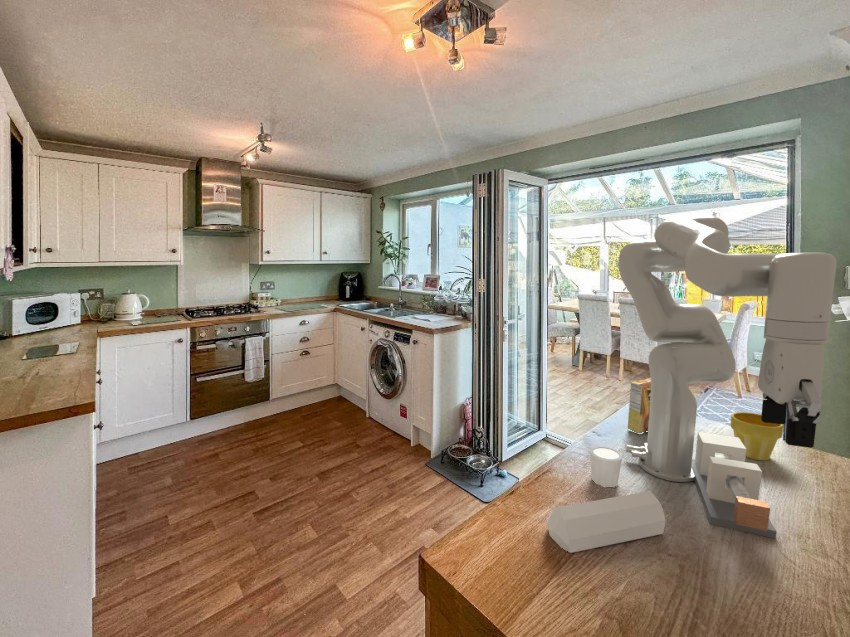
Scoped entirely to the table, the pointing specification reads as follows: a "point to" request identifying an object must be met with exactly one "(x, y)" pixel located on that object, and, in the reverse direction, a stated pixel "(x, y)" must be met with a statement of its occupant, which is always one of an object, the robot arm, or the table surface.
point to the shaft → (748, 506)
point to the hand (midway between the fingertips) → (785, 433)
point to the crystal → (606, 521)
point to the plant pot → (756, 434)
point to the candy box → (639, 405)
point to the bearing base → (724, 510)
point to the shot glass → (605, 466)
